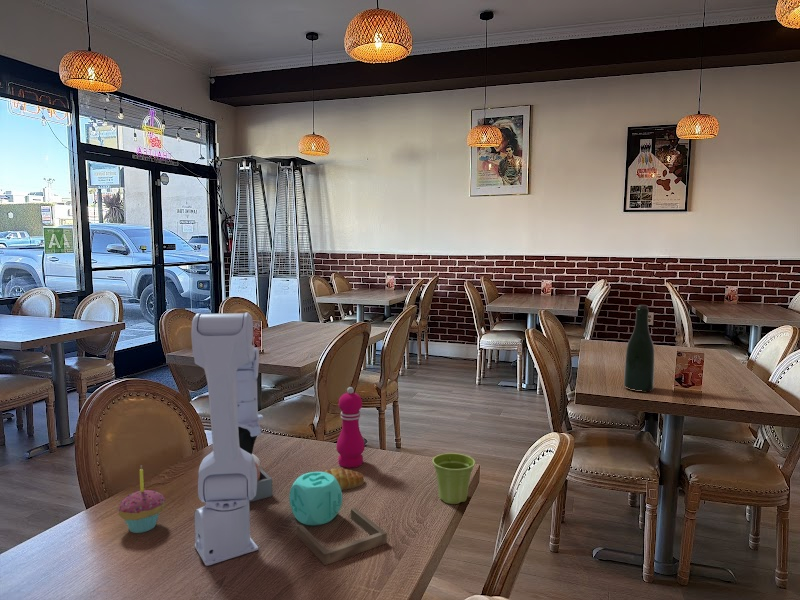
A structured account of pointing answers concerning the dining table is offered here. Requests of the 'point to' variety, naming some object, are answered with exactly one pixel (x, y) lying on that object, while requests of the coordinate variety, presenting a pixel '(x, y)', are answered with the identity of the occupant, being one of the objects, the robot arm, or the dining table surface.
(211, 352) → the robot arm
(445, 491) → the plant pot
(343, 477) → the pastry
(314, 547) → the frame
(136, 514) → the cupcake
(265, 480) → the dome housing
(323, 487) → the decorative dice
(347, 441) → the pepper mill
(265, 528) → the dining table surface
